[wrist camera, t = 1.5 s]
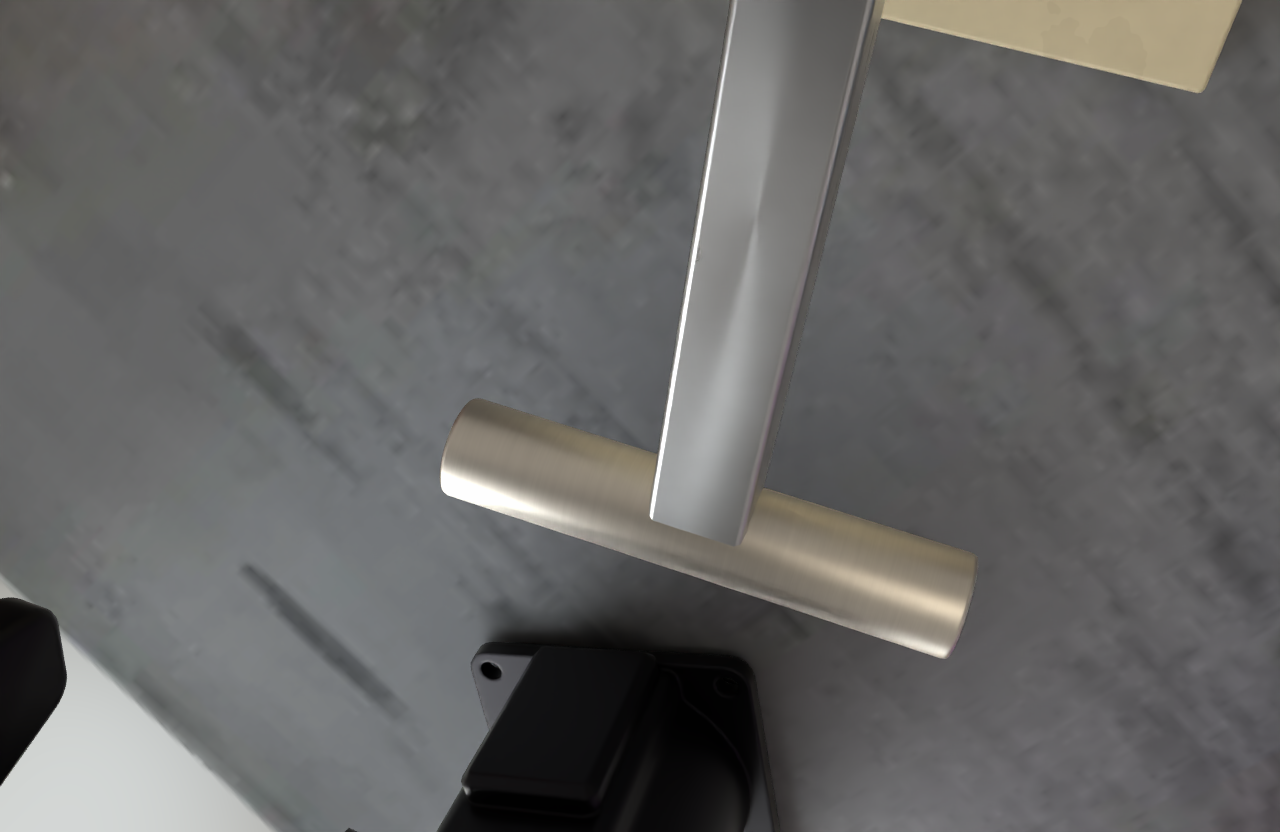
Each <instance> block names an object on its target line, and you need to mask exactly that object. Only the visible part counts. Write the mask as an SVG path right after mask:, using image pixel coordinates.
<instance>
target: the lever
mask: <svg viewBox="0 0 1280 832" xmlns="http://www.w3.org/2000/svg"><path fill="white" fill-rule="evenodd" d="M884 4H885V0H730V5H729V11H728V17H727V24H726V30H725V36H724V42H723V49H722V55H721V61H720V67H719V73H718V80H717V86H716V92H715V98H714V104H713V111H712V117H711V123H710V129H709V136H708V142H707V148H706V154H705V160H704V167H703V173H702V179H701V185H700V192H699V198H698V204H697V210H696V216H695V223H694V229H693V235H692V241H691V248H690V254H689V260H688V266H687V272H686V279H685V285H684V291H683V297H682V304H681V310H680V316H679V322H678V328H677V335H676V341H675V347H674V353H673V360H672V366H671V372H670V378H669V384H668V391H667V397H666V403H665V409H664V416H663V422H662V428H661V434H660V440H659V447H658V453H657V454H656V453H652V452H649V451H646V450H643V449H640V448H636V447H633V446H630V445H627V444H624V443H621V442H617V441H614V440H611V439H608V438H605V437H601V436H598V435H595V434H592V433H589V432H585V431H582V430H579V429H576V428H573V427H570V426H566V425H563V424H560V423H557V422H554V421H550V420H547V419H544V418H541V417H538V416H535V415H531V414H528V413H525V412H522V411H519V410H515V409H512V408H509V407H506V406H503V405H499V404H496V403H493V402H490V401H487V400H484V399H480V398H478V399H473V400H471V401H469V402H468V403H467V404H466V405H465V406H464V408H463V409H462V410H461V412H460V413H459V415H458V417H457V418H456V420H455V422H454V424H453V426H452V428H451V431H450V433H449V436H448V438H447V441H446V444H445V448H444V452H443V456H442V461H441V469H440V484H441V488H442V490H443V491H444V492H445V493H446V494H447V495H449V496H452V497H455V498H458V499H461V500H464V501H467V502H470V503H473V504H476V505H479V506H482V507H485V508H488V509H491V510H494V511H497V512H500V513H503V514H506V515H509V516H512V517H515V518H518V519H521V520H524V521H527V522H530V523H534V524H537V525H540V526H543V527H546V528H549V529H552V530H555V531H558V532H561V533H564V534H567V535H570V536H573V537H576V538H579V539H582V540H585V541H588V542H591V543H594V544H597V545H600V546H603V547H606V548H609V549H612V550H615V551H618V552H621V553H624V554H627V555H630V556H633V557H636V558H639V559H642V560H645V561H648V562H651V563H654V564H657V565H660V566H663V567H666V568H669V569H672V570H675V571H678V572H682V573H685V574H688V575H691V576H694V577H697V578H700V579H703V580H706V581H709V582H712V583H715V584H718V585H721V586H724V587H727V588H730V589H733V590H736V591H739V592H742V593H745V594H748V595H751V596H754V597H757V598H760V599H763V600H766V601H769V602H772V603H775V604H778V605H781V606H784V607H787V608H790V609H793V610H796V611H799V612H802V613H805V614H808V615H811V616H814V617H817V618H820V619H823V620H826V621H830V622H833V623H836V624H839V625H842V626H845V627H848V628H851V629H854V630H857V631H860V632H863V633H866V634H869V635H872V636H875V637H878V638H881V639H884V640H887V641H890V642H893V643H896V644H899V645H902V646H905V647H908V648H911V649H914V650H917V651H920V652H923V653H926V654H929V655H932V656H935V657H938V658H941V659H945V658H948V657H949V656H950V654H951V653H952V652H953V650H954V648H955V646H956V644H957V642H958V639H959V637H960V635H961V632H962V629H963V626H964V624H965V621H966V618H967V614H968V611H969V608H970V604H971V601H972V597H973V593H974V589H975V584H976V579H977V573H978V557H977V556H976V555H975V554H973V553H971V552H968V551H965V550H962V549H958V548H955V547H952V546H949V545H946V544H942V543H939V542H936V541H933V540H930V539H926V538H923V537H920V536H917V535H914V534H911V533H907V532H904V531H901V530H898V529H895V528H891V527H888V526H885V525H882V524H879V523H875V522H872V521H869V520H866V519H863V518H860V517H856V516H853V515H850V514H847V513H844V512H840V511H837V510H834V509H831V508H828V507H824V506H821V505H818V504H815V503H812V502H809V501H805V500H802V499H799V498H796V497H793V496H789V495H786V494H783V493H780V492H777V491H773V490H770V489H767V488H764V485H765V481H766V477H767V473H768V469H769V465H770V461H771V457H772V453H773V449H774V445H775V441H776V437H777V433H778V429H779V425H780V421H781V417H782V413H783V409H784V405H785V401H786V397H787V393H788V389H789V385H790V381H791V377H792V373H793V369H794V365H795V361H796V357H797V353H798V349H799V345H800V341H801V337H802V333H803V329H804V325H805V321H806V317H807V313H808V309H809V305H810V301H811V297H812V293H813V289H814V285H815V281H816V277H817V273H818V269H819V265H820V261H821V257H822V253H823V249H824V245H825V241H826V237H827V233H828V229H829V225H830V221H831V217H832V213H833V209H834V205H835V201H836V197H837V193H838V189H839V185H840V180H841V176H842V172H843V168H844V164H845V160H846V156H847V152H848V148H849V144H850V140H851V136H852V132H853V128H854V124H855V120H856V116H857V112H858V108H859V104H860V100H861V96H862V92H863V88H864V84H865V80H866V76H867V72H868V68H869V64H870V60H871V56H872V52H873V48H874V44H875V40H876V36H877V32H878V28H879V24H880V20H881V16H882V12H883V8H884Z"/></svg>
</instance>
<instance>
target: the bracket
mask: <svg viewBox="0 0 1280 832" xmlns="http://www.w3.org/2000/svg"><path fill="white" fill-rule="evenodd" d="M1241 3H1242V0H885V4H884V8H883V12H882V16H881V18H883V19H887V20H891V21H895V22H899V23H904V24H908V25H912V26H916V27H920V28H925V29H929V30H933V31H937V32H942V33H946V34H950V35H954V36H958V37H963V38H967V39H971V40H975V41H979V42H984V43H988V44H992V45H996V46H1000V47H1005V48H1009V49H1013V50H1017V51H1022V52H1026V53H1030V54H1034V55H1038V56H1043V57H1047V58H1051V59H1055V60H1059V61H1064V62H1068V63H1072V64H1076V65H1081V66H1085V67H1089V68H1093V69H1097V70H1102V71H1106V72H1110V73H1114V74H1118V75H1123V76H1127V77H1131V78H1135V79H1140V80H1144V81H1148V82H1152V83H1156V84H1161V85H1165V86H1169V87H1173V88H1177V89H1182V90H1186V91H1190V92H1194V93H1201V92H1203V91H1204V90H1205V89H1206V86H1207V84H1208V82H1209V79H1210V77H1211V74H1212V72H1213V70H1214V67H1215V65H1216V62H1217V60H1218V58H1219V55H1220V53H1221V50H1222V48H1223V46H1224V43H1225V41H1226V39H1227V36H1228V34H1229V31H1230V29H1231V27H1232V24H1233V22H1234V19H1235V17H1236V15H1237V12H1238V10H1239V7H1240V5H1241Z"/></svg>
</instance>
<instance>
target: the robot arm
mask: <svg viewBox="0 0 1280 832" xmlns="http://www.w3.org/2000/svg"><path fill="white" fill-rule="evenodd" d="M490 662H491V663H494V664H496V665H497V666H498V667H499V668H497V667H494V666H493V665H492V664H491V663H490ZM471 670H472V674H473V677H474V680H475V684H476V687H477V691H478V694H479V697H480V701H481V704H482V708H483V711H484V715H485V718H486V721H487V725H488V728H489V732H488V734H487V735H486V737H485V739H484V740H483V742H482V744H481V745H480V747H479V749H478V751H477V752H476V754H475V756H474V757H473V759H472V761H471V762H470V764H469V766H468V767H467V769H466V771H465V773H464V774H463V776H462V780H461V782H462V786H463V787H462V789H461V791H460V792H459V794H458V796H457V798H456V799H455V801H454V803H453V804H452V806H451V808H450V810H449V811H448V813H447V815H446V816H445V818H444V820H443V822H442V823H441V825H440V827H439V828H438V830H437V832H780V827H779V821H778V815H777V809H776V803H775V797H774V791H773V785H772V778H771V772H770V766H769V760H768V754H767V748H766V742H765V736H764V729H763V723H762V717H761V711H760V705H759V699H758V693H757V687H756V680H755V675H754V673H753V670H752V668H751V667H750V666H749V665H748V664H747V663H746V662H744V661H743V660H741V659H739V658H737V657H732V656H724V655H707V654H690V653H673V652H656V651H639V650H622V649H605V648H588V647H570V646H553V645H536V644H519V643H502V642H489V643H485V644H484V645H482V646H481V647H480V648H479V650H478V651H477V653H476V654H475V656H474V658H473V660H472V662H471ZM723 677H727V678H730V679H733V680H734V681H735V682H737V684H731V683H727V682H726V681H725V680H723V679H722V678H723ZM66 681H67V672H66V666H65V661H64V655H63V649H62V643H61V637H60V631H59V625H58V621H57V618H56V616H55V615H54V614H53V613H52V612H51V611H50V610H48V609H46V608H43V607H40V606H38V605H35V604H32V603H30V602H27V601H24V600H21V599H18V598H2V599H0V786H1V785H2V784H3V782H4V781H5V779H6V778H7V776H8V775H9V774H10V772H11V771H12V769H13V768H14V767H15V765H16V764H17V762H18V761H19V759H20V758H21V757H22V755H23V754H24V752H25V751H26V750H27V748H28V747H29V745H30V744H31V742H32V741H33V740H34V738H35V736H36V735H37V734H38V732H39V731H40V730H41V728H42V727H43V725H44V724H45V722H46V721H47V720H48V718H49V717H50V715H51V714H52V712H53V711H54V710H55V708H56V707H57V705H58V704H59V702H60V699H61V698H62V696H63V693H64V690H65V687H66ZM345 832H357V831H355V830H352V829H350V828H348V829H347V830H346V831H345Z"/></svg>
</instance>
